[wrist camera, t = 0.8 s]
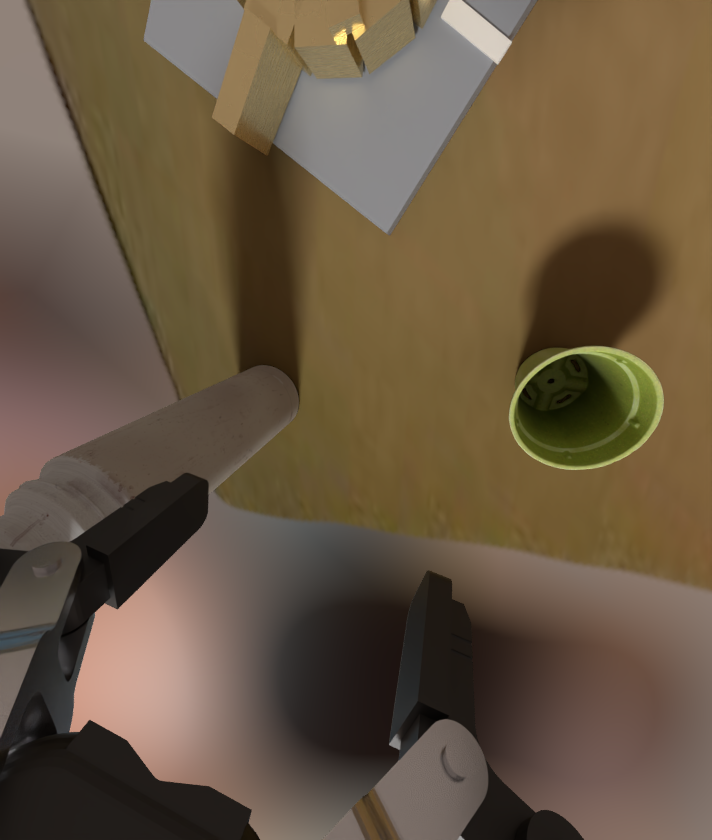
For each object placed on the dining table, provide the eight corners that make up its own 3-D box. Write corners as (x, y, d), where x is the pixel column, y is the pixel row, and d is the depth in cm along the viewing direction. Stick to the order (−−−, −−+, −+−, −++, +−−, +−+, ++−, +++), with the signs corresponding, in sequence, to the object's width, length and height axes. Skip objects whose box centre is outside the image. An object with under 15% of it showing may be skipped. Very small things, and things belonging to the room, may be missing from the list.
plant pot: (572, 304, 28) (615, 315, 21) (632, 387, 29) (693, 427, 22) (476, 371, 33) (483, 400, 25) (532, 441, 34) (555, 489, 26)
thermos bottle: (275, 438, 42) (23, 664, 18) (229, 393, 42) (-100, 566, 17) (312, 400, 39) (60, 619, 14) (263, 350, 38) (-95, 491, 13)
